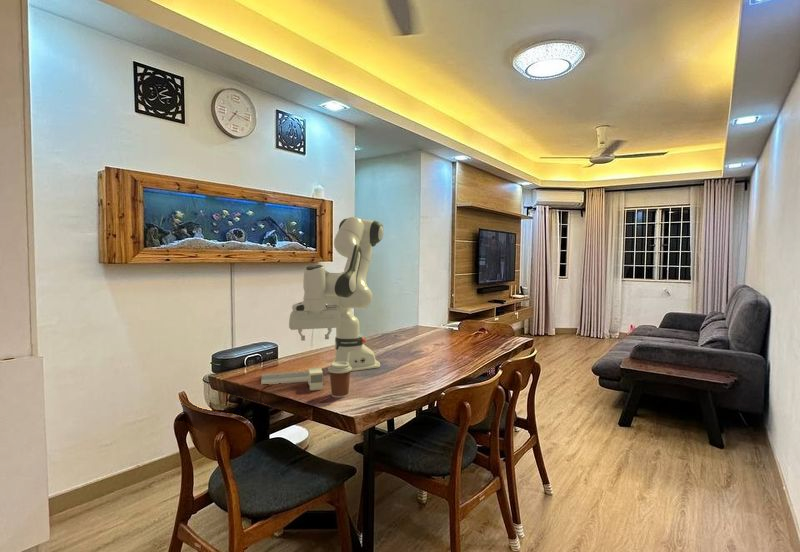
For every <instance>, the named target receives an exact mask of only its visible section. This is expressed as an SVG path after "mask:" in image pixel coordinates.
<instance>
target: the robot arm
mask: <svg viewBox="0 0 800 552" xmlns="http://www.w3.org/2000/svg"><path fill="white" fill-rule="evenodd" d="M383 237H384V225H383V224H382V223H381V222H379V221H376V220H370V219H364V218H358V217H356V216H351V217H347V218H344V219H342V220H341V221H340V223H339V225H338V230H337V233H336V235H335V237H334V240H333V246H334V249H335V250H336V252H337V253H338V254H339V255H340V256H342V257H344V258H346V259H347V260H346V263H345V264H344V268H343V272H329V271H327V270H326V269H325V266H324V265H322V264H313V265H308V266H306V267H305V268H304V273H303V279H302V281H303V286H302V287H303V291H304V293H303V300H302V301H300V302H297V303H294V304H292V307H291V309H292V311H291V312H290V314H289V320H288V329H290V330H291V331H295V330H297V332H298V334H299V336H300V340H301V341H302V342H303V341H306V339H305V338H306V336H305V335H303V334H302V332H303V330H317V329H327V332H326V334H324V340H329V339H330V334H331V332H332V330H333V329H335V335H336V336H335V339H334V348H335V354H334V355H335V356H334V360H333V362H348V363H349V365H350V367H352V371H351V372H355V371H363V370H369V369H377V368H380V367H381V363H380V361H378V360H377V359H376V356H375V355H376V354H375V353H374V351H373V350H372V349H371V348H370V347H368V346H366V342H367V340H366V338H363V337H362V336H360V321H359V318H358V317H357V316H355V315H354V314H353V312H352V309H356V310H359V309H367V308H368V307H370V306H371V304H372V302H373V298H374V297H373V292H372V290H371V288H369V286H368V284H367V274H368V272H369V266H370V264H371V261H372V260H371V259H372V256H373V247H375V246H376V245H377V244H379V242H381V241H382V240H383Z"/></svg>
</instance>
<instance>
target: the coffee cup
mask: <svg viewBox="0 0 800 552" xmlns="http://www.w3.org/2000/svg"><path fill="white" fill-rule="evenodd" d="M327 371H328V372H329V380H330V391H331V397H333V398H336V399H337V398H340V399H342V398H346V397H348V396H349V393H350V380H351V379H350V376H351V372H353V371H352V367H350V365H349V363H348V362H334V361H333V362H332V363H330V366H329V367H327Z"/></svg>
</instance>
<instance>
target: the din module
mask: <svg viewBox="0 0 800 552" xmlns="http://www.w3.org/2000/svg"><path fill="white" fill-rule="evenodd" d="M307 371H308V381H307V385H308V386H309V391H321V390H324V371H323V369H322V368H321V366H312V367H307Z"/></svg>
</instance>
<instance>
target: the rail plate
mask: <svg viewBox="0 0 800 552" xmlns="http://www.w3.org/2000/svg"><path fill="white" fill-rule="evenodd" d="M260 380H261V382H260V383H261V386H263V385H262V384H269V385H278V384H279V383H281V384H291V383H292V384H293V383H302V382H303V383H304V382H308V370H302V371H301V370H299V371H286V372H274V373H273V372H271V373H261V379H260Z"/></svg>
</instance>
